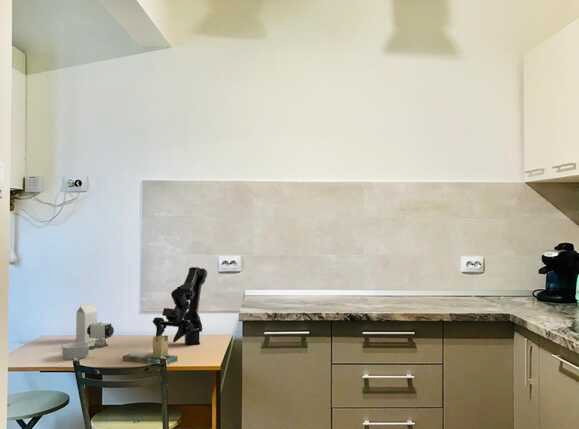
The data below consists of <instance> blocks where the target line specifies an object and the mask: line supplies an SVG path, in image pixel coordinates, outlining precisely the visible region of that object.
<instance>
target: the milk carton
mask: <svg viewBox="0 0 579 429" xmlns="http://www.w3.org/2000/svg"><path fill="white" fill-rule="evenodd" d="M75 318H76V321H75V322H76V324H75V325H76V326H75V329H76V331H75V333H76V335H75V342H88V343H91V342H95V341H96V340H98V339H96V338H89V335H88V334H87V328H88V327H89V325H91V324H94V323H98V310H97V309H96V307H95V305H94V302H89V303H82V304H80V307H79V308H78V309H77V310H76V316H75Z"/></svg>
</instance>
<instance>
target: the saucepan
mask: <svg viewBox="0 0 579 429" xmlns="http://www.w3.org/2000/svg"><path fill="white" fill-rule="evenodd" d="M61 347H62V352H61V353H62V354H61V357H62V358H63V359H65V360H70V361H72V360H73V359H74V358H79V359H78V360H81V359H85V358H86V357H88V355H89V354H90V353H89V351H91V350H92V351H93V350H94V349H95V348H97V347H102V348H105V347H109V344H107V343H106V344H105V345H94V344H93V345H91V342H77V341H75V342H68V343H64V344H62V345H61ZM73 361H74V360H73Z"/></svg>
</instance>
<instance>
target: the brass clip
mask: <svg viewBox="0 0 579 429" xmlns="http://www.w3.org/2000/svg"><path fill="white" fill-rule="evenodd" d="M168 349H169V336H168V335H163V334H162V335H158V336H156V335H154V336H152V353H153V359H158V360H160V357H161V356H163V357H166V358H168V355H169V354H168V353H169V352H168V351H169V350H168Z"/></svg>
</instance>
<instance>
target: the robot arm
mask: <svg viewBox="0 0 579 429" xmlns="http://www.w3.org/2000/svg"><path fill="white" fill-rule="evenodd" d="M207 277H208V271H207V270H206V269H205V268H200V267H198V266H195V267H194V266H191V267H189V268H188V273H187V275H186V278H185V280H184V283H183V284H181V285H180V286H177V287H176V288H175V289H173V290H172V291H171V292H170V293H171V294H170V295H171V298H172V301H173V304H174V305H175V306H174V308H168V307H167V308H166V307H164V308H163V311H162V314H161V315H162V316H164V317H165V319H166V320H165V319H164V318H163V317H159V316H158V317H157V316H156V317H154V318H153V320H152V323H153V325H154V326H155V328H156V330H155V331H156V332H155V336H158V335H162V336H163V334H164V332H165V330H166V328H167V327H174V328H175V327H176V328H177V331H176V333H175V335H174V338H173V340H172V342H173V343H176V342H177V341H178V340H180V339H181V338H182V337H184V343H185V345H186V346H193V345H195V346H196V345H200V344H201V342H200V333H201V332H203V324H202V322H201V317H200V315H199V306H200V297H201V291H202V286H203V285H204V283H205V282H206V280H207Z"/></svg>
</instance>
